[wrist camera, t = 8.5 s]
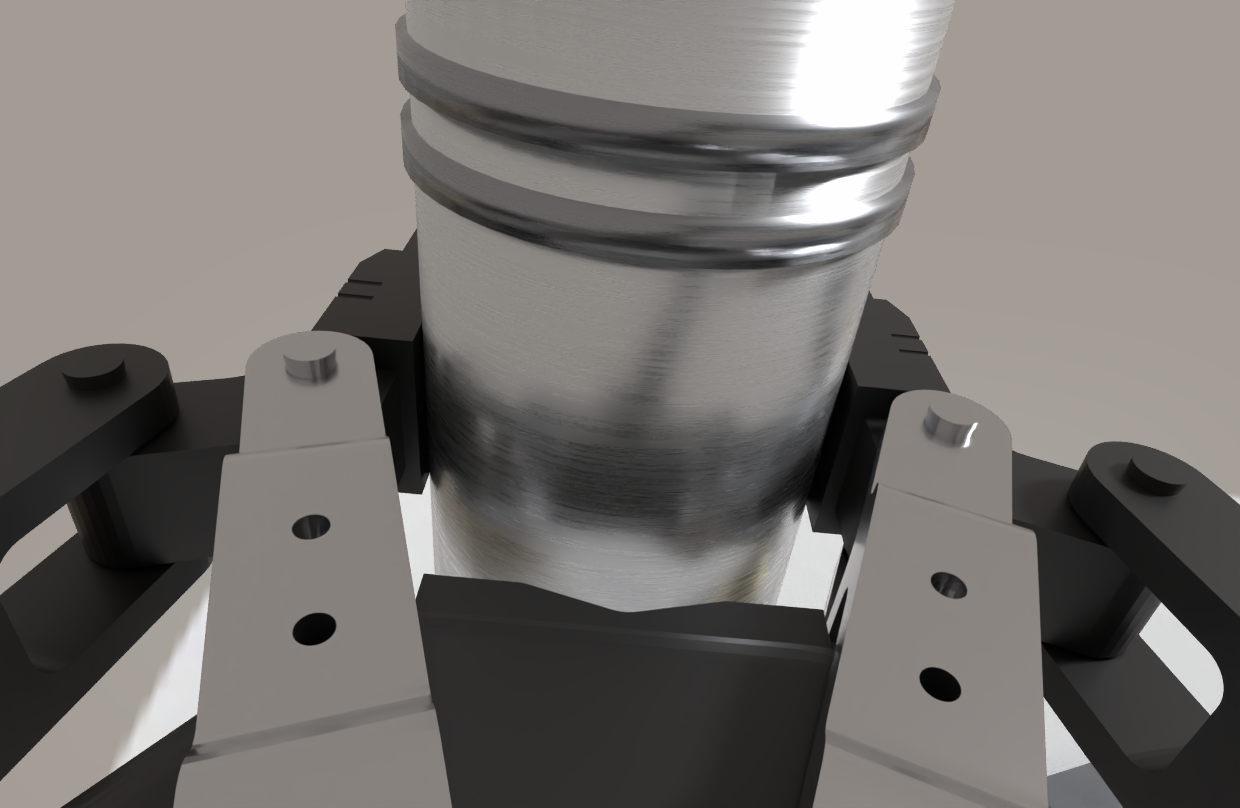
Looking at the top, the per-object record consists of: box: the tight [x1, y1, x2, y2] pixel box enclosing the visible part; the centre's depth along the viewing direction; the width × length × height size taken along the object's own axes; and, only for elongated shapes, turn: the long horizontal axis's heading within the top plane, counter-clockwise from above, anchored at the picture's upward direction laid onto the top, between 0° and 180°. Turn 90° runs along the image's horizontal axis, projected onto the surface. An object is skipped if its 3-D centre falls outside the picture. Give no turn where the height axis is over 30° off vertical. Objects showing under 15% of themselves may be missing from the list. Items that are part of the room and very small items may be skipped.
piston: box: [395, 0, 955, 612], centre depth 11 cm, size 5×5×12 cm
